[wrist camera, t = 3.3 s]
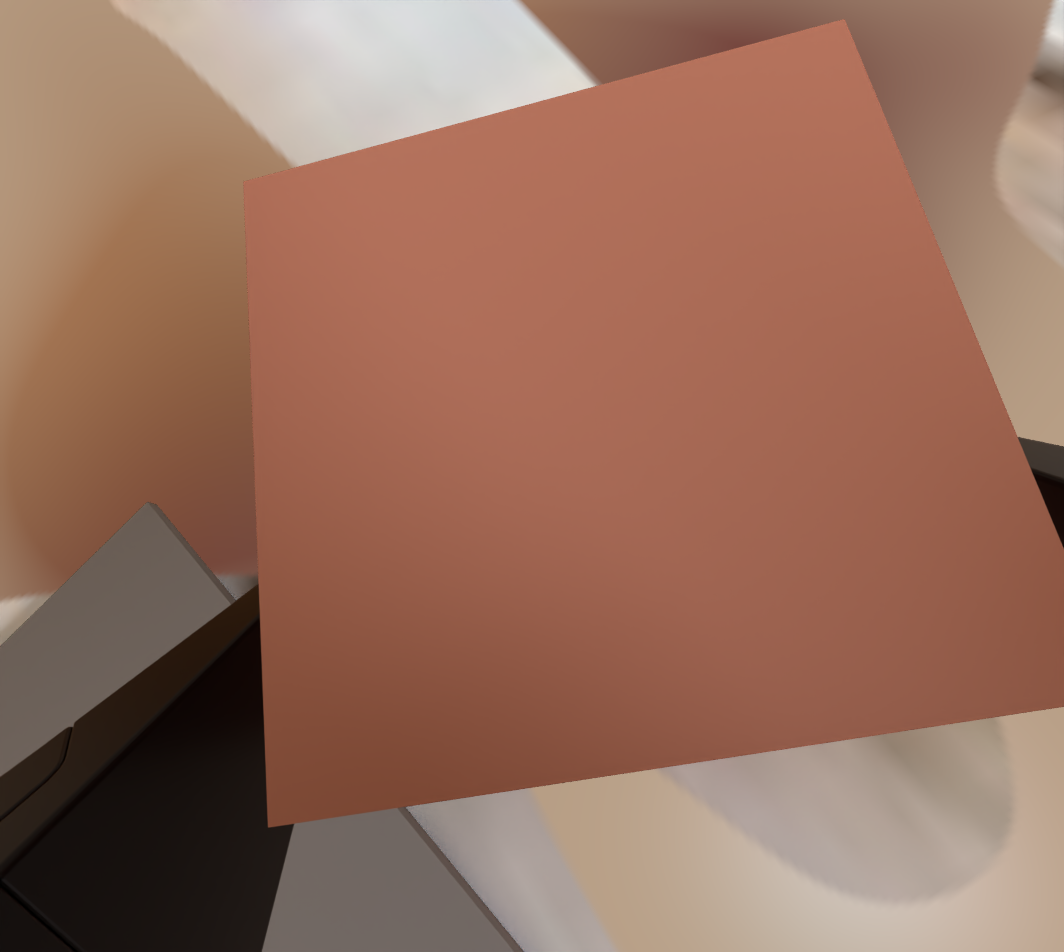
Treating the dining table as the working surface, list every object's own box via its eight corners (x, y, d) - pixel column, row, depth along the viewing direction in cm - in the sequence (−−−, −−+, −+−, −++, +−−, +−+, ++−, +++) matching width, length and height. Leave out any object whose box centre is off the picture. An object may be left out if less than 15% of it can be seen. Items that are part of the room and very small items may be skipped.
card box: (745, 663, 16) (1126, 697, 3) (548, 696, 16) (268, 827, 4) (697, 473, 17) (844, 19, 5) (518, 509, 18) (243, 181, 5)
